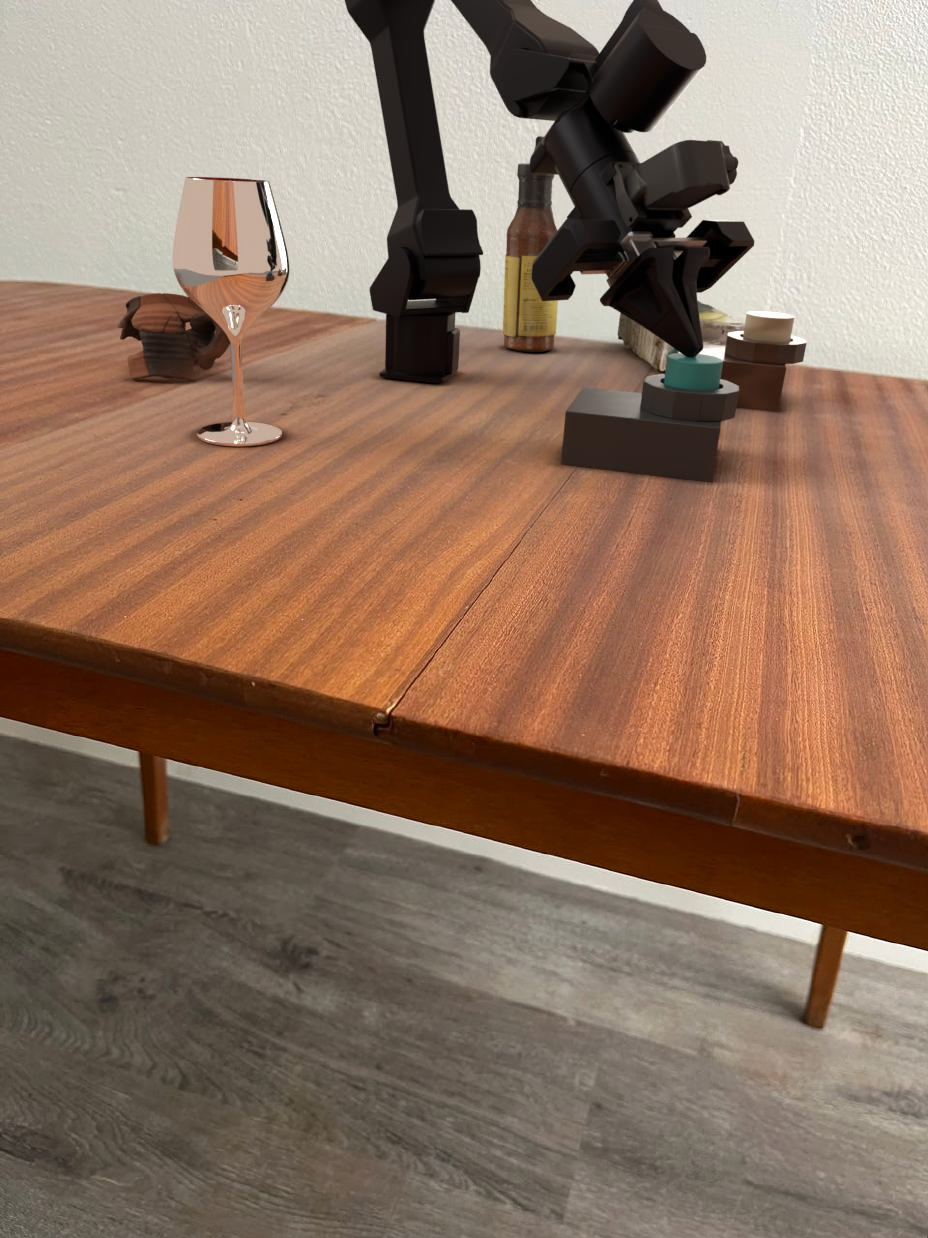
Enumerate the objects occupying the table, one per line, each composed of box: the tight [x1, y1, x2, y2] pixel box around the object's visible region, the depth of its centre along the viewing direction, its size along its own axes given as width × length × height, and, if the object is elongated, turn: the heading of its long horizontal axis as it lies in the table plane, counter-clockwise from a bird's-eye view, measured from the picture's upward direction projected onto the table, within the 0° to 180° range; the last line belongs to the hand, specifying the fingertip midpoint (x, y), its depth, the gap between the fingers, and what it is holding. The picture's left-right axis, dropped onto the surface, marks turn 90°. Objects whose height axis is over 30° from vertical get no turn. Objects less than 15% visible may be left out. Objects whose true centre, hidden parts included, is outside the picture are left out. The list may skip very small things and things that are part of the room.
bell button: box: [743, 310, 795, 342], centre depth 94 cm, size 4×4×3 cm
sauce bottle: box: [502, 162, 559, 353], centre depth 112 cm, size 6×6×20 cm
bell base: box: [678, 331, 808, 413], centre depth 96 cm, size 12×9×6 cm
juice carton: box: [617, 299, 745, 372], centre depth 114 cm, size 20×10×6 cm, turn 7°
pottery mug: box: [117, 292, 230, 382], centre depth 94 cm, size 12×10×8 cm
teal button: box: [664, 353, 723, 391], centre depth 73 cm, size 4×4×2 cm
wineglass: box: [171, 176, 291, 447], centre depth 72 cm, size 8×8×18 cm
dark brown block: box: [560, 373, 739, 483], centre depth 75 cm, size 12×9×6 cm
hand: (695, 353), depth 72 cm, fingers closed, pressing on teal button
